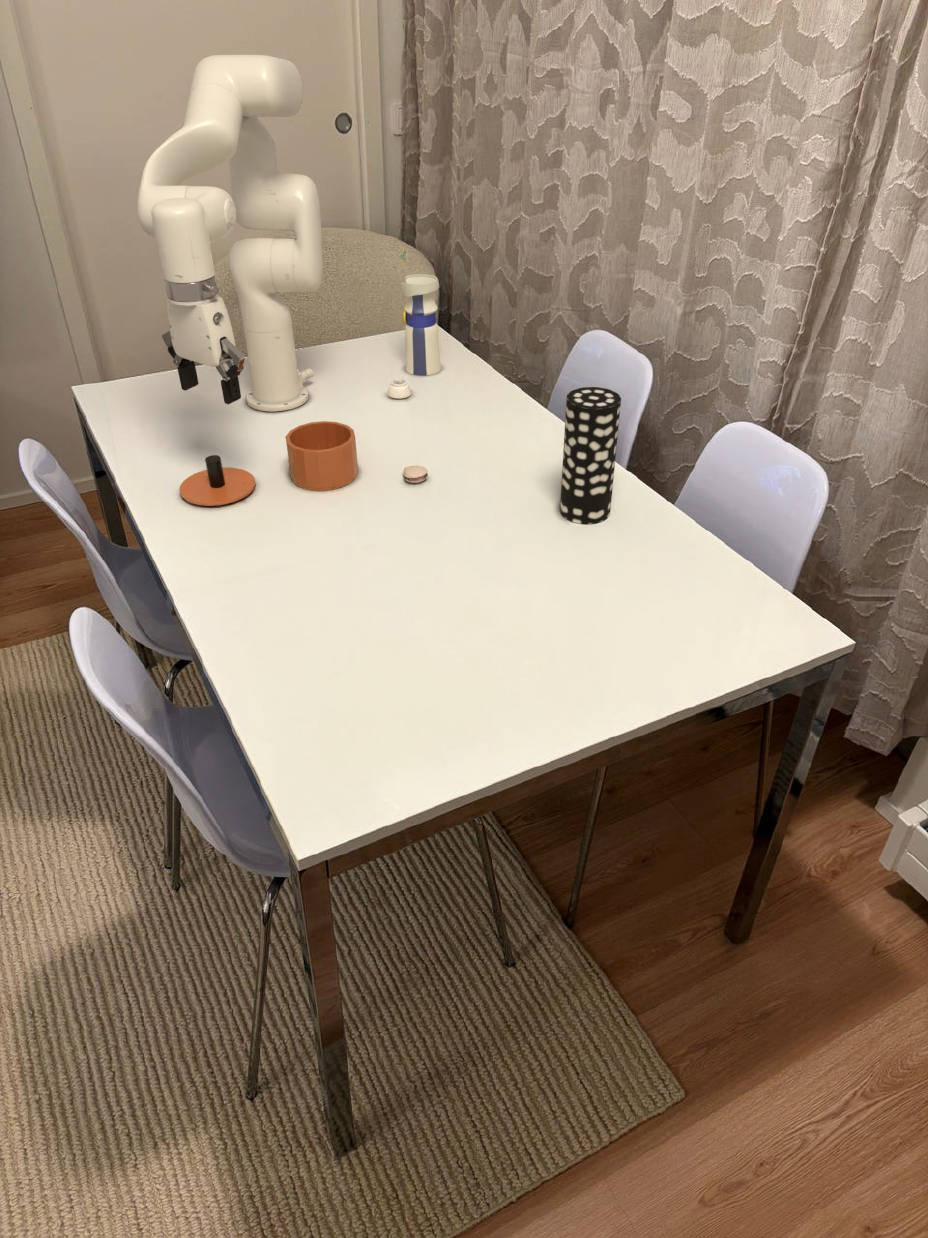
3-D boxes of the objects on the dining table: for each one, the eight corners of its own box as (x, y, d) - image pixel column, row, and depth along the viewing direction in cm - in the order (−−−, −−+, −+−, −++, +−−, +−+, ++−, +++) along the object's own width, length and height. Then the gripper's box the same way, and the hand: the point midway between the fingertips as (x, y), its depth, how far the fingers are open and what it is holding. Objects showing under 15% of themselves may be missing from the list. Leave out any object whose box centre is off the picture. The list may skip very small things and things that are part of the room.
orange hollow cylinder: (320, 453, 173) (316, 415, 168) (371, 469, 168) (368, 431, 163) (277, 479, 165) (271, 440, 160) (329, 497, 160) (324, 457, 155)
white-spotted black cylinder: (616, 504, 157) (628, 392, 145) (601, 528, 151) (611, 412, 139) (569, 494, 160) (577, 383, 148) (552, 517, 154) (558, 403, 142)
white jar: (386, 400, 192) (410, 400, 192) (385, 386, 190) (410, 386, 190) (388, 390, 196) (412, 390, 196) (387, 376, 194) (411, 376, 194)
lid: (218, 466, 169) (212, 435, 166) (271, 484, 164) (266, 452, 160) (164, 496, 161) (157, 464, 157) (219, 516, 155) (212, 483, 151)
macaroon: (413, 488, 162) (412, 475, 160) (395, 478, 165) (394, 465, 163) (432, 480, 164) (432, 467, 163) (414, 470, 167) (413, 457, 166)
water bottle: (399, 375, 202) (393, 255, 187) (408, 360, 209) (402, 243, 194) (437, 377, 201) (433, 257, 186) (444, 362, 208) (441, 245, 193)
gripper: (251, 291, 140) (266, 398, 151) (171, 271, 148) (191, 374, 158) (214, 305, 135) (233, 415, 146) (133, 284, 143) (157, 390, 153)
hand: (211, 394), depth 152 cm, fingers open, 9 cm apart
